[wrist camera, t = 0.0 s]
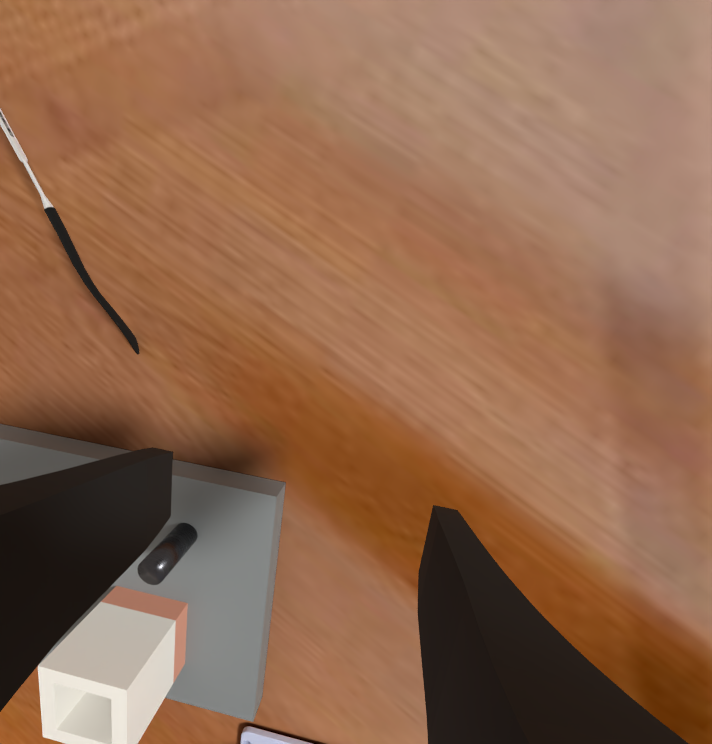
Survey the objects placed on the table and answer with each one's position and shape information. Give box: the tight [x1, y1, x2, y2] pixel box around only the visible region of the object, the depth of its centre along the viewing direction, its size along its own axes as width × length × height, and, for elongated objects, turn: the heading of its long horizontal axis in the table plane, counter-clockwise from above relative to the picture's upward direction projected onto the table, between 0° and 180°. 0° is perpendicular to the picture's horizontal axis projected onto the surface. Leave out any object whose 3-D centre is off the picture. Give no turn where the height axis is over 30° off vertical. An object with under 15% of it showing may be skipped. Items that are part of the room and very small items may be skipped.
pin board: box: [0, 424, 286, 722], centre depth 24 cm, size 16×19×2 cm
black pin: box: [137, 523, 198, 585], centre depth 20 cm, size 1×1×3 cm
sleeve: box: [38, 586, 188, 744], centre depth 21 cm, size 5×5×5 cm
